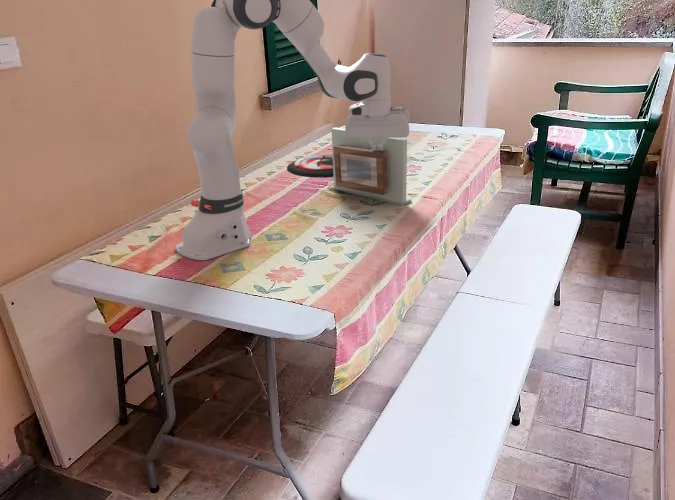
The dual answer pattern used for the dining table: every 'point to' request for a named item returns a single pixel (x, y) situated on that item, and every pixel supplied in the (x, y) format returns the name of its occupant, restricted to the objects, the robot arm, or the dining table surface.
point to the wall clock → (313, 166)
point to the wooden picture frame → (361, 169)
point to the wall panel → (395, 165)
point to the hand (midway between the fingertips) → (377, 150)
